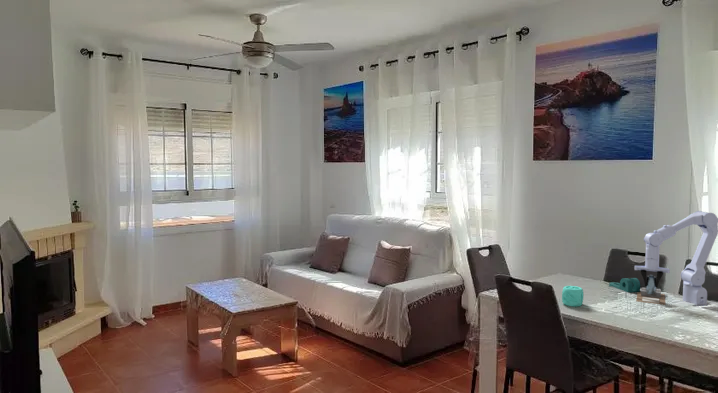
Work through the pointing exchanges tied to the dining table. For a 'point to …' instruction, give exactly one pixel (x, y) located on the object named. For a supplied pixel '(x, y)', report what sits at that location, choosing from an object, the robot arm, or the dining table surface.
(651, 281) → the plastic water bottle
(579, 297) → the decorative dice
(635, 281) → the bracket
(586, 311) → the dining table surface
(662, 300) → the housing plate
